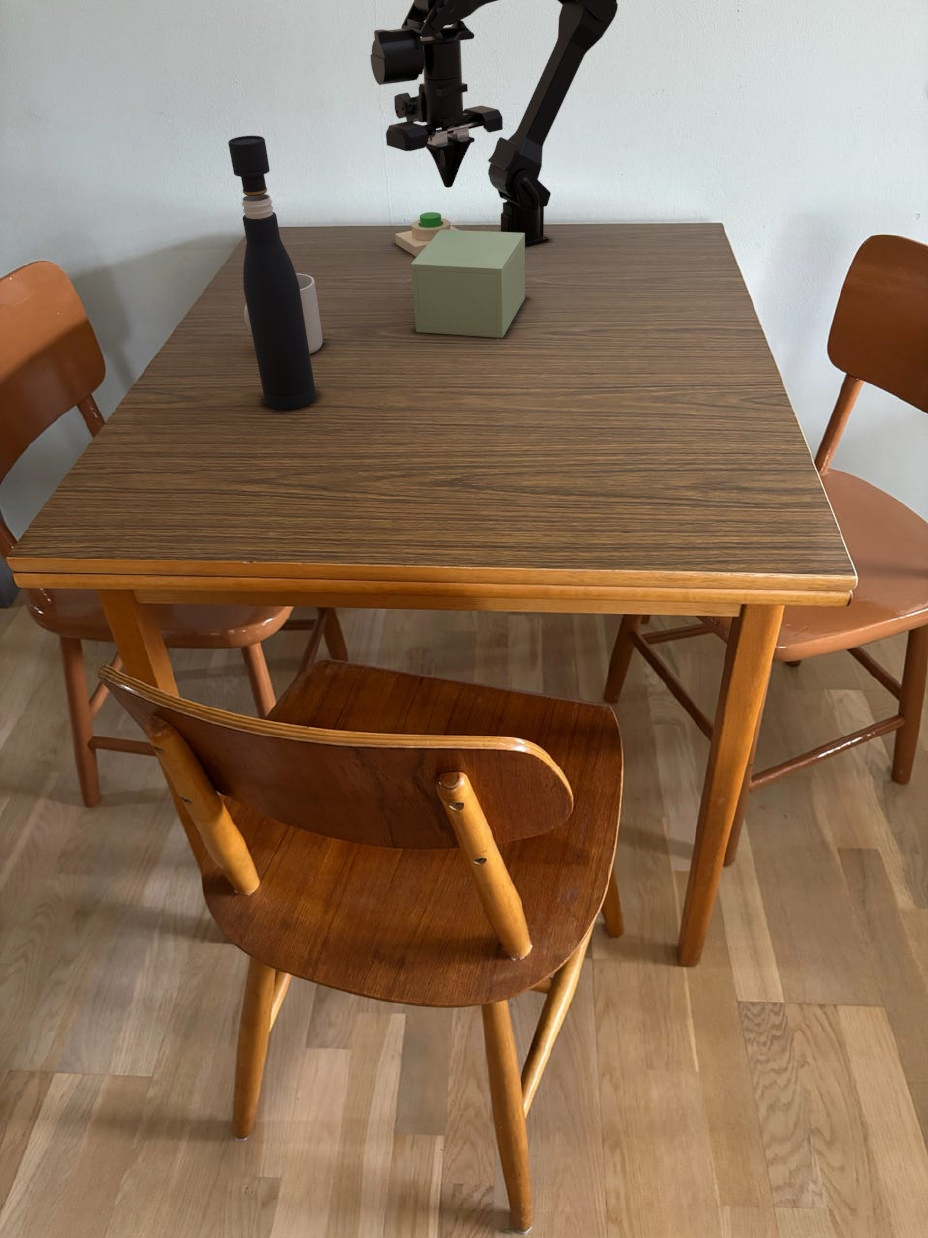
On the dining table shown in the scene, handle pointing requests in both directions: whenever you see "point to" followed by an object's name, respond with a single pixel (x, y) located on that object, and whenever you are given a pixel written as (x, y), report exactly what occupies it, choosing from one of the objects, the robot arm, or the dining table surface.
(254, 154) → the black insulated water bottle
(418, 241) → the control block
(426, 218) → the button
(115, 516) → the dining table surface
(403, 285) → the dining table surface
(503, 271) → the sage green box
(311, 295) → the cup
